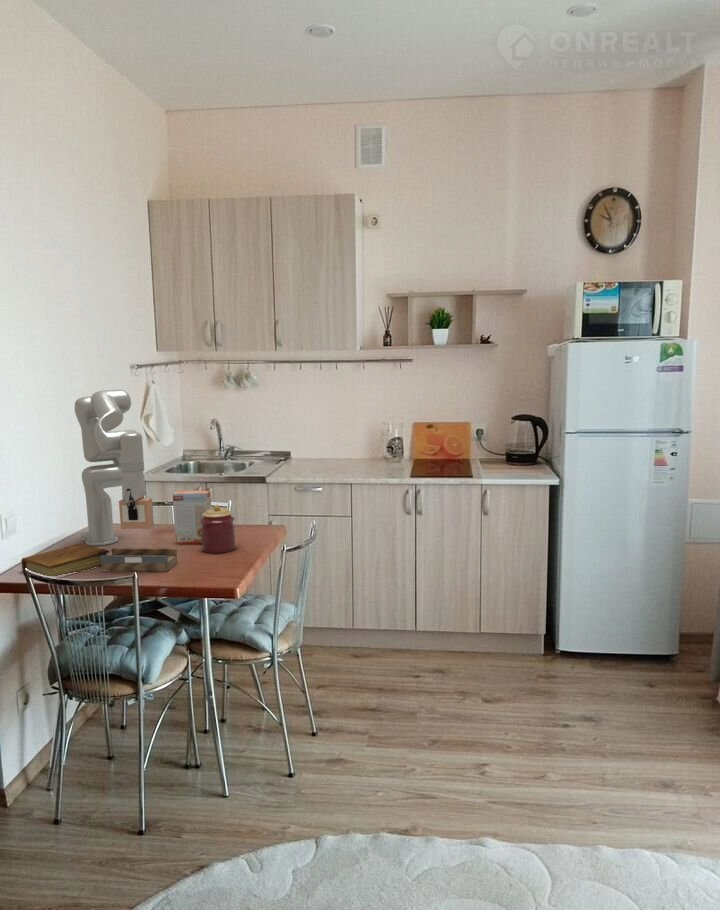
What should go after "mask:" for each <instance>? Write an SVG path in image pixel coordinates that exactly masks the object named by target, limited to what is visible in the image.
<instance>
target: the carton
mask: <svg viewBox="0 0 720 910" xmlns="http://www.w3.org/2000/svg"><path fill="white" fill-rule="evenodd" d="M130 500H133V499H130ZM131 503H133V504H134V502H131ZM118 508H119V519H120V520H119V521H120V522H119V523H120V529H121V530H125V529H126V530H135V529H136V530H138V529H139V530H141V529H142V530H143V529H144V530H147V529H150V528H152V527H153V526H155V525H154V513H153V512H154V510H153V508H154V507H153V498H152V497H144V498H140V499H138V500H136V509H137V512H138V520H129V518H128V509H127V505H126V503H125V501H124V500H123V499H122V498H121V499H120V500H119V501H118Z"/></svg>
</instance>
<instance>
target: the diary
mask: <svg viewBox="0 0 720 910" xmlns="http://www.w3.org/2000/svg"><path fill="white" fill-rule="evenodd" d="M109 553H110V551H109V550H108V549H106V548H105V549H104V548H101V547H97V546H91V545H87V544H86V543H85V544H84V543H78V544H73V545H69V546H66V547H62V548H57V549H54V550H50V551H45V552H42V553H38V554H34V555H30V556H27V557H23V558H21V560H20V561H21V571H22V572H23V571H24V569H25V568H27V569H29V570H31V571H33V572H36V573H40V574H43V575H47V576H58V575H62V574H68V573H73V572H80V571H83V570H87V569H90V570H92V569H91V568H94V567H98V566H101V559H100V556H101V555H107V554H109ZM98 568H99V567H98ZM94 569H95V568H94ZM87 571H88V570H87ZM83 572H84V571H83ZM80 573H81V572H80Z"/></svg>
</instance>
